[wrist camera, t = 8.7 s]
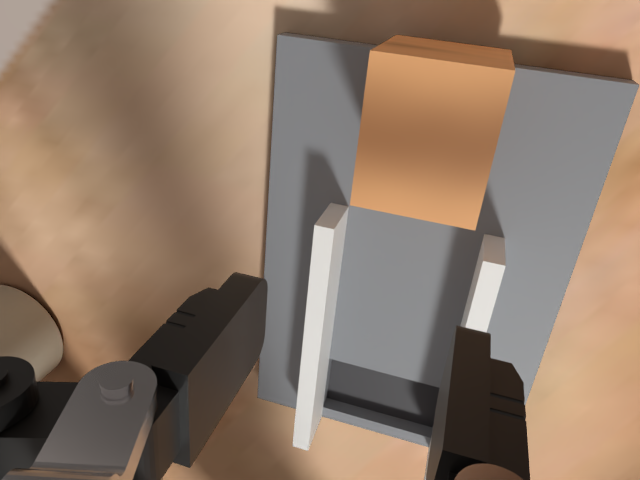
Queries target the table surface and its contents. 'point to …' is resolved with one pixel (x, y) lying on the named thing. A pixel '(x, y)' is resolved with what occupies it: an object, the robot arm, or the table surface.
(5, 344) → the travel mug
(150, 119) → the table surface
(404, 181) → the block
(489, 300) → the channel
